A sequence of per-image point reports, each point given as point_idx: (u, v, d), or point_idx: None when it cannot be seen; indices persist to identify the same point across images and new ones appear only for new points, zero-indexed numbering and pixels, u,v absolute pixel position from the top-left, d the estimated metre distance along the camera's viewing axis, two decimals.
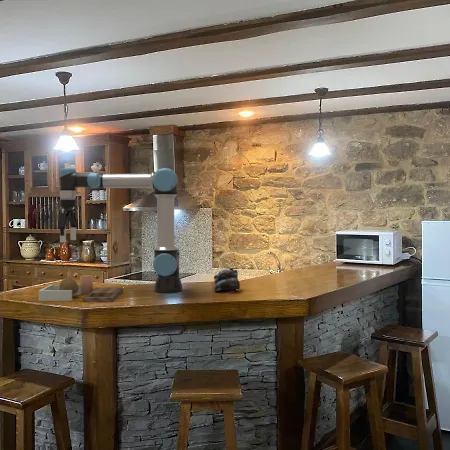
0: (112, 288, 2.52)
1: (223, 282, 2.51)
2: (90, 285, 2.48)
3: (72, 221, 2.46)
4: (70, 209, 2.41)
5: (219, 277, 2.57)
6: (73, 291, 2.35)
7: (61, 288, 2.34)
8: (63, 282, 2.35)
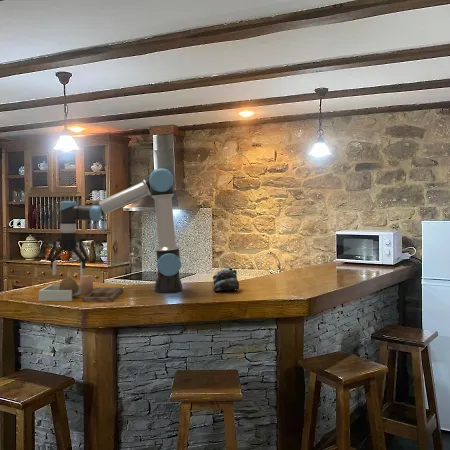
0: (112, 288, 2.52)
1: (222, 282, 2.51)
2: (90, 285, 2.48)
3: None
4: (68, 242, 2.35)
5: (218, 277, 2.57)
6: (73, 291, 2.35)
7: (61, 288, 2.34)
8: (63, 282, 2.35)
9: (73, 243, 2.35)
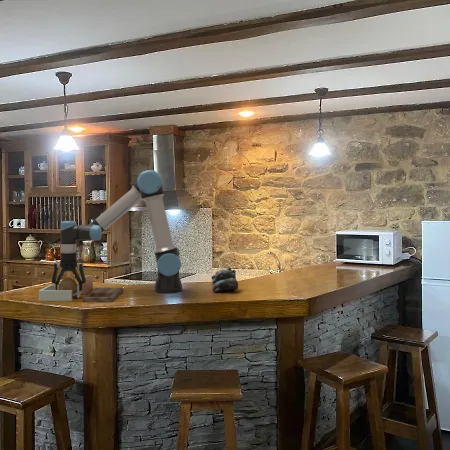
0: (112, 288, 2.52)
1: (222, 282, 2.51)
2: (90, 285, 2.48)
3: None
4: (68, 263, 2.36)
5: (217, 277, 2.56)
6: (73, 291, 2.35)
7: (61, 288, 2.34)
8: (63, 282, 2.35)
9: (73, 263, 2.36)
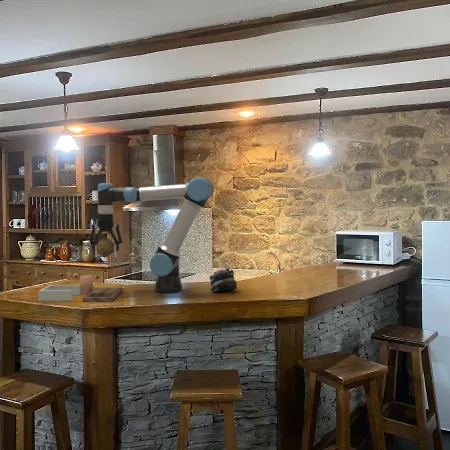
0: (112, 288, 2.52)
1: (220, 282, 2.50)
2: (90, 285, 2.48)
3: None
4: (106, 223, 2.44)
5: (215, 277, 2.56)
6: (110, 251, 2.43)
7: (99, 248, 2.42)
8: (101, 242, 2.43)
9: (110, 224, 2.44)
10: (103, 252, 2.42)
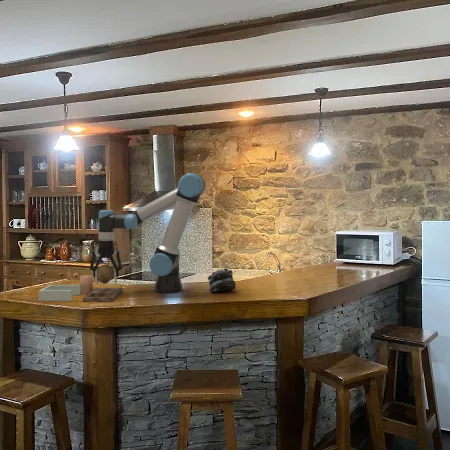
0: (112, 288, 2.52)
1: (219, 283, 2.50)
2: (90, 285, 2.48)
3: None
4: (106, 250, 2.45)
5: (214, 278, 2.55)
6: (110, 277, 2.44)
7: (99, 274, 2.43)
8: (101, 268, 2.44)
9: (111, 250, 2.45)
10: (103, 278, 2.43)
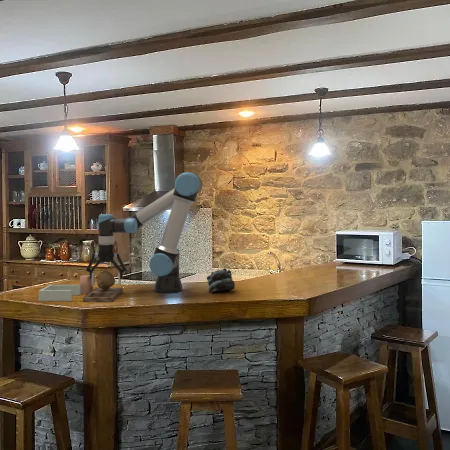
0: (112, 288, 2.52)
1: (219, 283, 2.49)
2: (90, 285, 2.48)
3: None
4: (106, 254, 2.45)
5: (213, 278, 2.55)
6: (110, 284, 2.44)
7: (99, 281, 2.43)
8: (101, 275, 2.44)
9: (111, 254, 2.45)
10: (103, 285, 2.43)
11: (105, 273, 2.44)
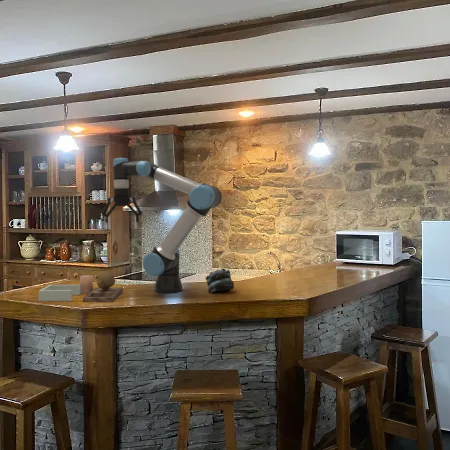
0: (112, 288, 2.52)
1: (218, 283, 2.49)
2: (90, 285, 2.48)
3: (131, 210, 2.48)
4: (122, 198, 2.47)
5: (212, 278, 2.54)
6: (110, 284, 2.44)
7: (99, 281, 2.43)
8: (101, 275, 2.44)
9: (127, 198, 2.47)
10: (103, 285, 2.43)
11: (105, 273, 2.44)
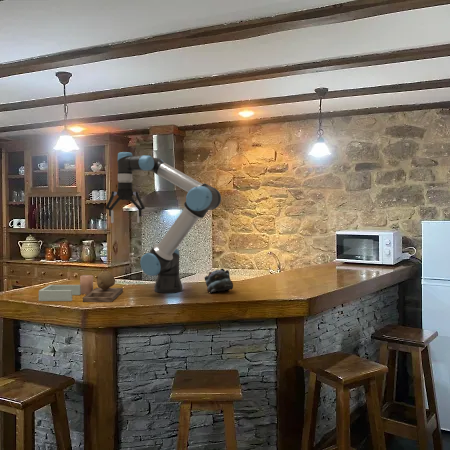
0: (112, 288, 2.52)
1: (217, 283, 2.48)
2: (90, 285, 2.48)
3: (134, 204, 2.49)
4: (125, 192, 2.48)
5: (211, 278, 2.54)
6: (110, 284, 2.44)
7: (99, 281, 2.43)
8: (101, 275, 2.44)
9: (130, 192, 2.48)
10: (103, 285, 2.43)
11: (105, 273, 2.44)
